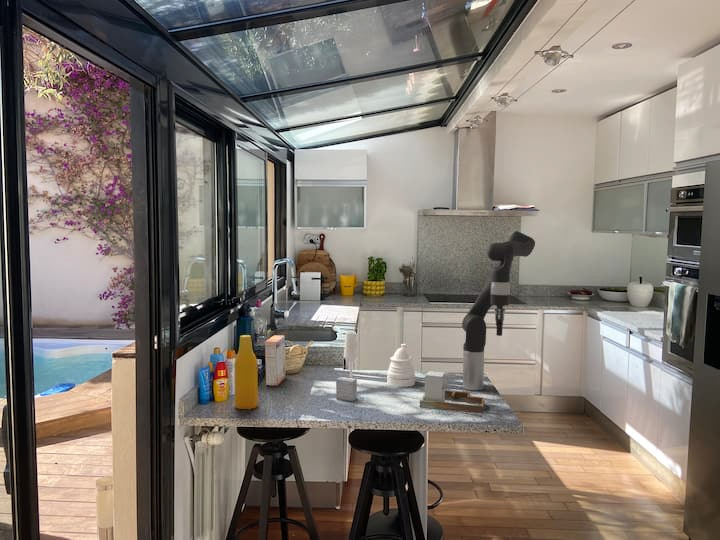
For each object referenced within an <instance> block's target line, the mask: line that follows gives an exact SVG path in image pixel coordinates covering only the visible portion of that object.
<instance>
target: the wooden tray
mask: <svg viewBox="0 0 720 540" xmlns="http://www.w3.org/2000/svg"><path fill="white" fill-rule="evenodd" d="M485 400H486V399H485V397H479V396H471V392H469V391H458V390H457V391H456V390H446V389H445V402H435V401H425V392H424V393H423V395H422V397H421V398H420V399H419V408H427V407H429V408H430V409H438V408H441V409H440V410H447V411H449V410H451V411H458V412H459V411H460V412H461V411H462V412H470V411H471V412H472V413H480V412H482V414H483V412H484V409H485V405H486V404H485V403H486V401H485ZM446 401H450V402H446ZM455 402H463V403H455ZM464 403H465V404H464ZM466 403H467V404H466ZM477 403H478V404H477ZM429 408H428V409H429ZM471 412H470V413H471Z"/></svg>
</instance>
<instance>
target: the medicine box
mask: <svg viewBox="0 0 720 540" xmlns="http://www.w3.org/2000/svg"><path fill="white" fill-rule="evenodd" d="M357 383H358V380H357V378H353V377H352V378H350V377H344V376H342V377H341V376H339V377H338V378H337V379H335V387H336V389H335V391H336V393H335V395H336V396H335V397H336V398H335V399H336V400H341V401H347V402H348V401H349V402H354V401H355V400H357V398H358V385H357Z"/></svg>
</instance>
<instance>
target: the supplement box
mask: <svg viewBox="0 0 720 540" xmlns="http://www.w3.org/2000/svg"><path fill="white" fill-rule="evenodd" d="M445 390H446V372H445V371H443V372H442V371H433V370H432V371H430V370H428V371H427V373H426V374H425V375H424V393H425V401H435V402H446V400H445Z"/></svg>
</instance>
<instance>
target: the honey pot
mask: <svg viewBox="0 0 720 540" xmlns="http://www.w3.org/2000/svg"><path fill="white" fill-rule="evenodd" d="M406 346H407V344H406V343H401V344H400V347H399V348H397V350H396V351H395V352H394V354H393V356H391V357H390V361H391V362H390V363H389V367H388V370H387V371H386V372H387V375H386V376H387V377H386V383H387V385H389V386H391V385H392V386H391V387H395V386H397V387H396V388H408V386H409V387H413V386H414V385H415V384H416V379H415V378H416V372H415V370H414V366H413V364H412V363H413V362H412V359H413V358H412V357H411V356H409V354H408V352H407V351H406V349H405V348H406ZM412 385H413V386H412Z"/></svg>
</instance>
